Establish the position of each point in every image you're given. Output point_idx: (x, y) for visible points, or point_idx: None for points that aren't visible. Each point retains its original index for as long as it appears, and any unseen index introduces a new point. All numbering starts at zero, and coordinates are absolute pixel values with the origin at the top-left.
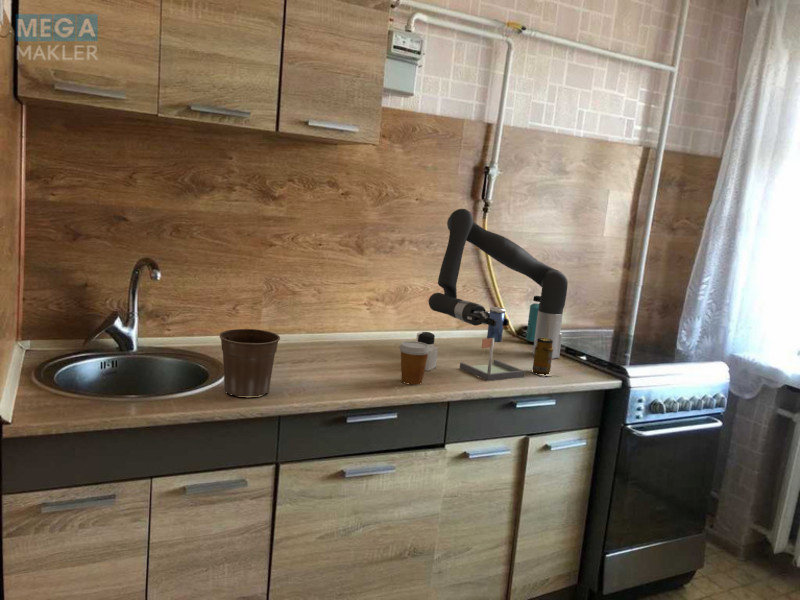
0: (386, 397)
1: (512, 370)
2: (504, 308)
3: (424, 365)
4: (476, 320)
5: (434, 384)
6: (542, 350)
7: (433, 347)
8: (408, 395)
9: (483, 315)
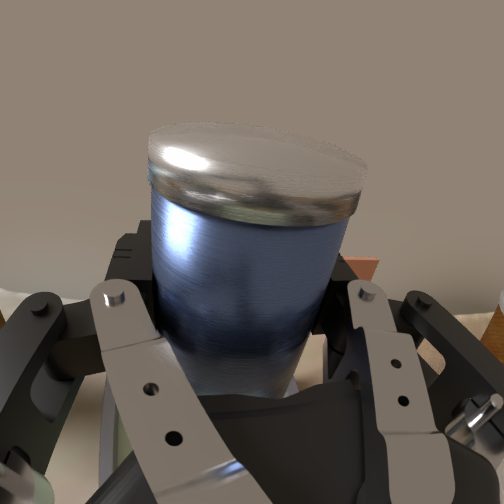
0: (492, 313)
1: (117, 428)
2: (154, 129)
3: (487, 328)
4: (430, 387)
5: (440, 364)
6: (1, 314)
7: (497, 474)
8: (471, 316)
9: (392, 332)
